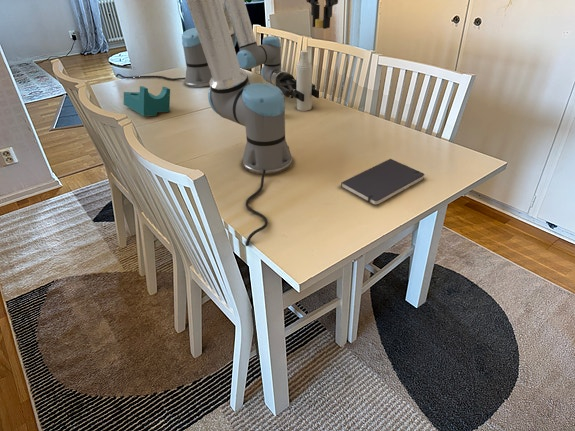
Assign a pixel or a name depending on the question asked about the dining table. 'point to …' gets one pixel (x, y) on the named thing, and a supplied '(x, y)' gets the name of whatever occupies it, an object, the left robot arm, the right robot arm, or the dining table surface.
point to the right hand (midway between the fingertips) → (321, 27)
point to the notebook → (382, 181)
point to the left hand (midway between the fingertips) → (310, 96)
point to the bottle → (304, 81)
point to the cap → (319, 23)
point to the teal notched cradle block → (148, 101)
